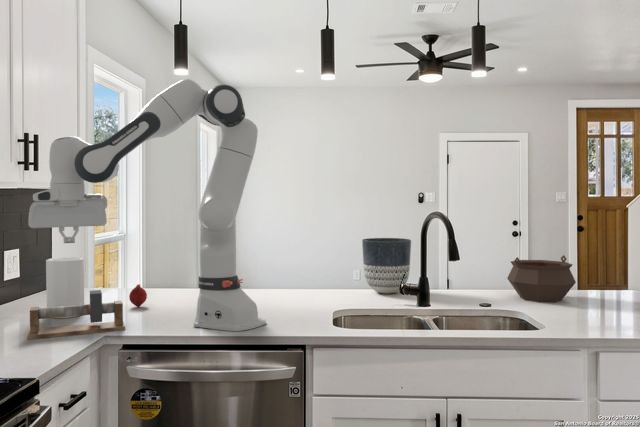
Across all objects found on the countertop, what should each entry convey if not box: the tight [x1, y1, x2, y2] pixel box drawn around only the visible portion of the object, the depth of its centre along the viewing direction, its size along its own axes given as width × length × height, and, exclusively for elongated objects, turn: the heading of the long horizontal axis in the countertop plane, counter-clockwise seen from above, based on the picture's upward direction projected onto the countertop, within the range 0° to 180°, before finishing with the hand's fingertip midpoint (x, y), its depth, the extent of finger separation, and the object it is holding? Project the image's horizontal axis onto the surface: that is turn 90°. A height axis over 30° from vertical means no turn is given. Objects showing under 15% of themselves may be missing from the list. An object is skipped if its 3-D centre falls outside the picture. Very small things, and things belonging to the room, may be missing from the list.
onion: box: [128, 283, 148, 308], centre depth 192 cm, size 6×6×8 cm
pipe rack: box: [27, 300, 126, 340], centre depth 157 cm, size 25×8×8 cm, turn 115°
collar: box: [89, 289, 103, 323], centre depth 159 cm, size 3×6×8 cm, turn 25°
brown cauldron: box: [506, 254, 577, 303], centre depth 205 cm, size 24×24×16 cm
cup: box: [45, 256, 85, 320], centre depth 179 cm, size 11×11×18 cm
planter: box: [361, 237, 412, 295], centre depth 219 cm, size 20×20×21 cm
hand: (69, 243), depth 155 cm, fingers closed
